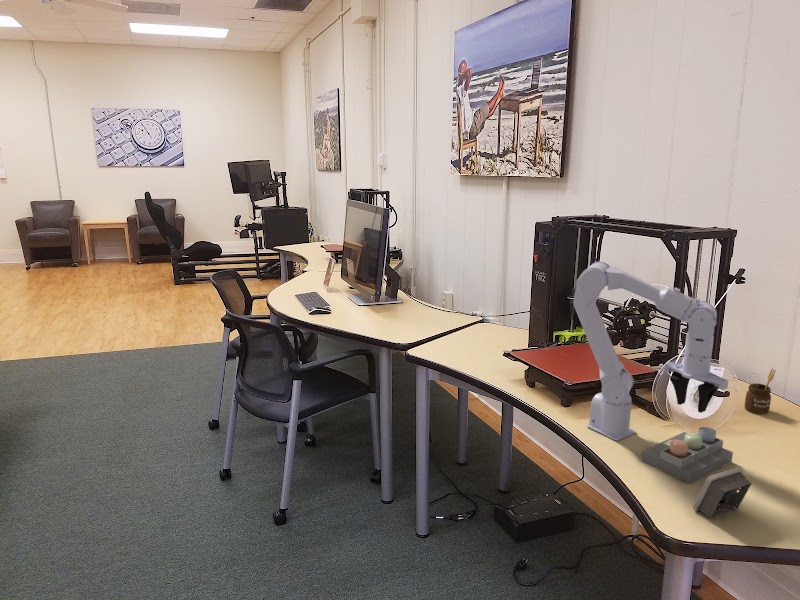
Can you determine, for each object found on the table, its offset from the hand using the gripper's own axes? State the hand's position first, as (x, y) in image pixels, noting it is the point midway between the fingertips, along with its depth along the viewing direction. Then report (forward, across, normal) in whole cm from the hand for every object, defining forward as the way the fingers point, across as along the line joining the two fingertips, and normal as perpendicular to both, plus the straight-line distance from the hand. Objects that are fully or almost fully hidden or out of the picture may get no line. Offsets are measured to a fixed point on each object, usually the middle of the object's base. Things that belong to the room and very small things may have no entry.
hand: (691, 407), depth 141 cm
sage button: (+6, +5, -6) cm, 10 cm away
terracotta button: (+6, +5, -12) cm, 14 cm away
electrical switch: (+11, +19, -19) cm, 29 cm away
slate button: (+6, +5, -1) cm, 8 cm away
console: (+10, +4, -6) cm, 13 cm away
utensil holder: (+11, -1, +35) cm, 37 cm away
